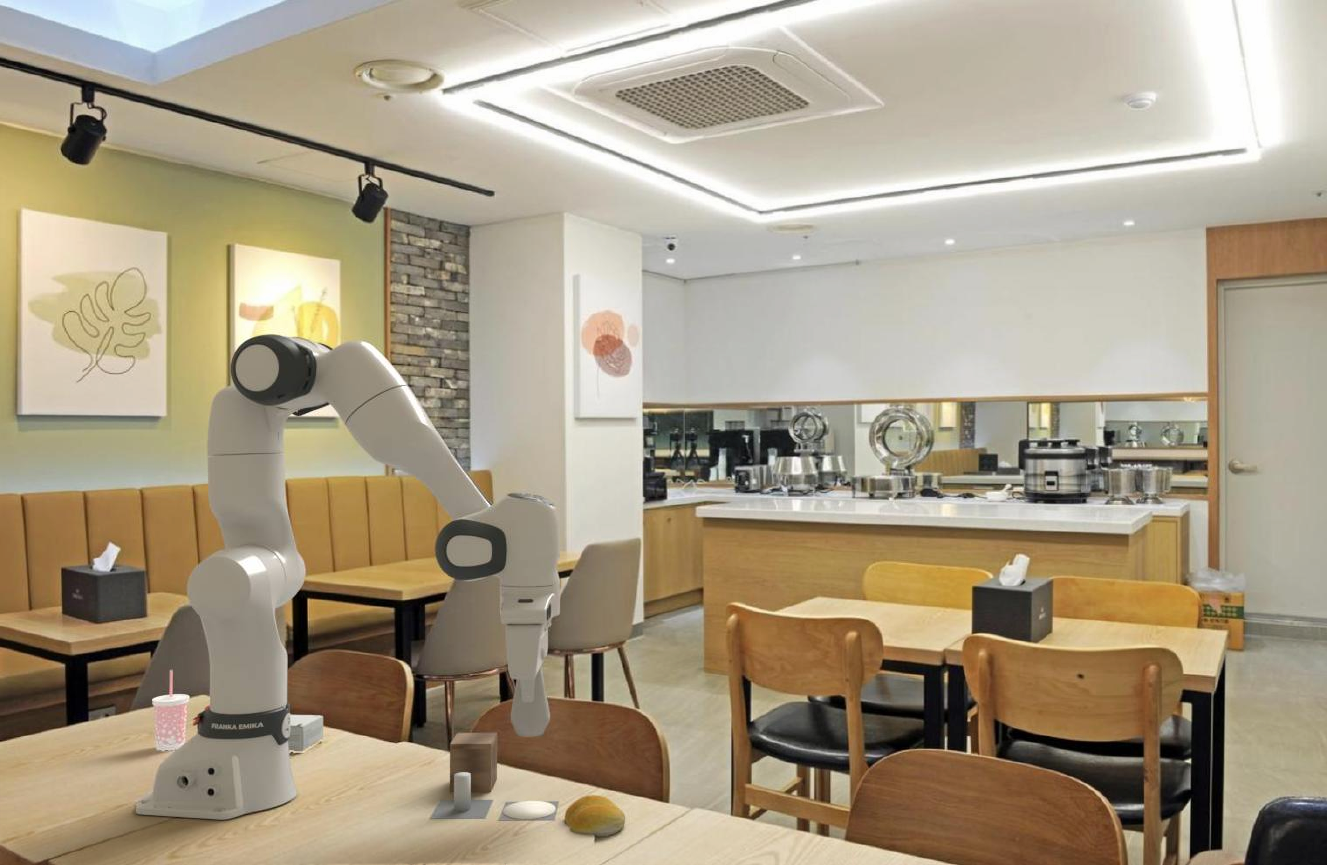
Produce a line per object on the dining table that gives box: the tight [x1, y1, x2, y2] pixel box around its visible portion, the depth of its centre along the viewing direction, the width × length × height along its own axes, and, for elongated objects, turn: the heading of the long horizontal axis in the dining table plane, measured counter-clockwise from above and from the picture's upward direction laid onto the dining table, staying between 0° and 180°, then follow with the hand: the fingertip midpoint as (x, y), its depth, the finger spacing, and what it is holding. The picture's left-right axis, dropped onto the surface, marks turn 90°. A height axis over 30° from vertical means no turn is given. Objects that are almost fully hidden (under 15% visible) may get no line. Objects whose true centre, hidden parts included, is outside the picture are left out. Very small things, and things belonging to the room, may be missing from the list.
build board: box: [498, 800, 560, 822], centre depth 149 cm, size 8×8×1 cm
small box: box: [288, 714, 324, 751], centre depth 185 cm, size 8×8×5 cm
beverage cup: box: [151, 669, 190, 752], centre depth 185 cm, size 6×6×14 cm
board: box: [429, 772, 494, 820], centre depth 150 cm, size 8×8×6 cm
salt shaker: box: [509, 646, 551, 738], centre depth 150 cm, size 6×6×13 cm
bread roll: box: [564, 794, 626, 838], centre depth 144 cm, size 8×9×4 cm
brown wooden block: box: [449, 732, 498, 793], centre depth 161 cm, size 6×6×8 cm
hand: (529, 697), depth 150 cm, fingers closed on salt shaker, 3 cm apart
